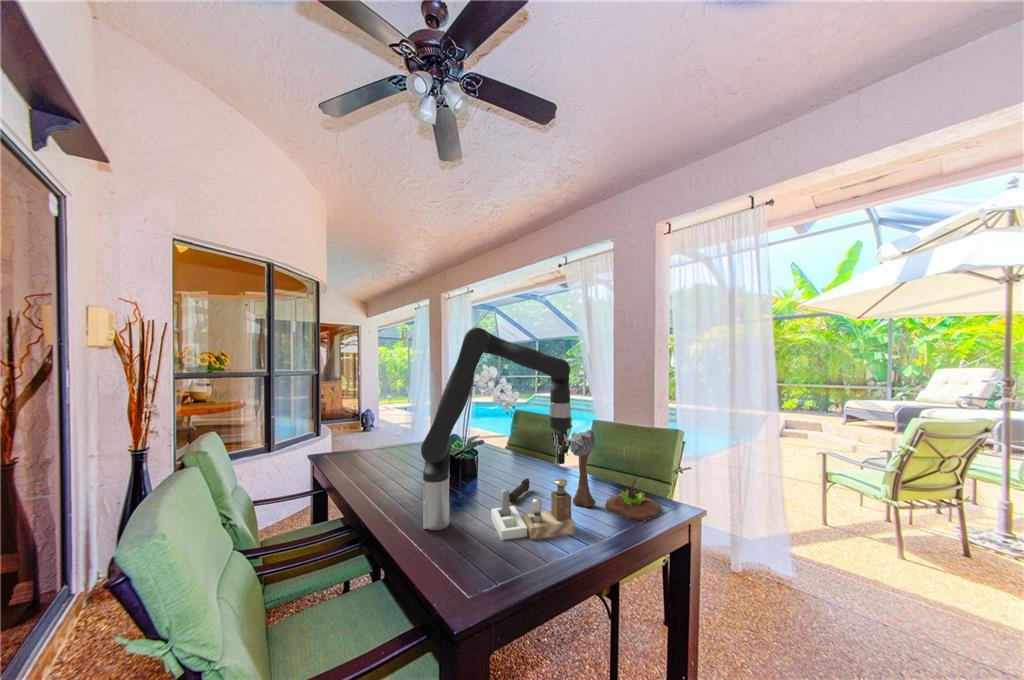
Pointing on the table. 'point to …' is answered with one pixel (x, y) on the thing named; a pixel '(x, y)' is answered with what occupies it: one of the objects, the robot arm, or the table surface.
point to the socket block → (552, 519)
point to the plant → (633, 505)
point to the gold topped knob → (560, 486)
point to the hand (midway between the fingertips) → (560, 463)
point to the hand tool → (519, 491)
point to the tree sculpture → (583, 465)
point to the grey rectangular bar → (537, 510)
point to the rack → (508, 519)
